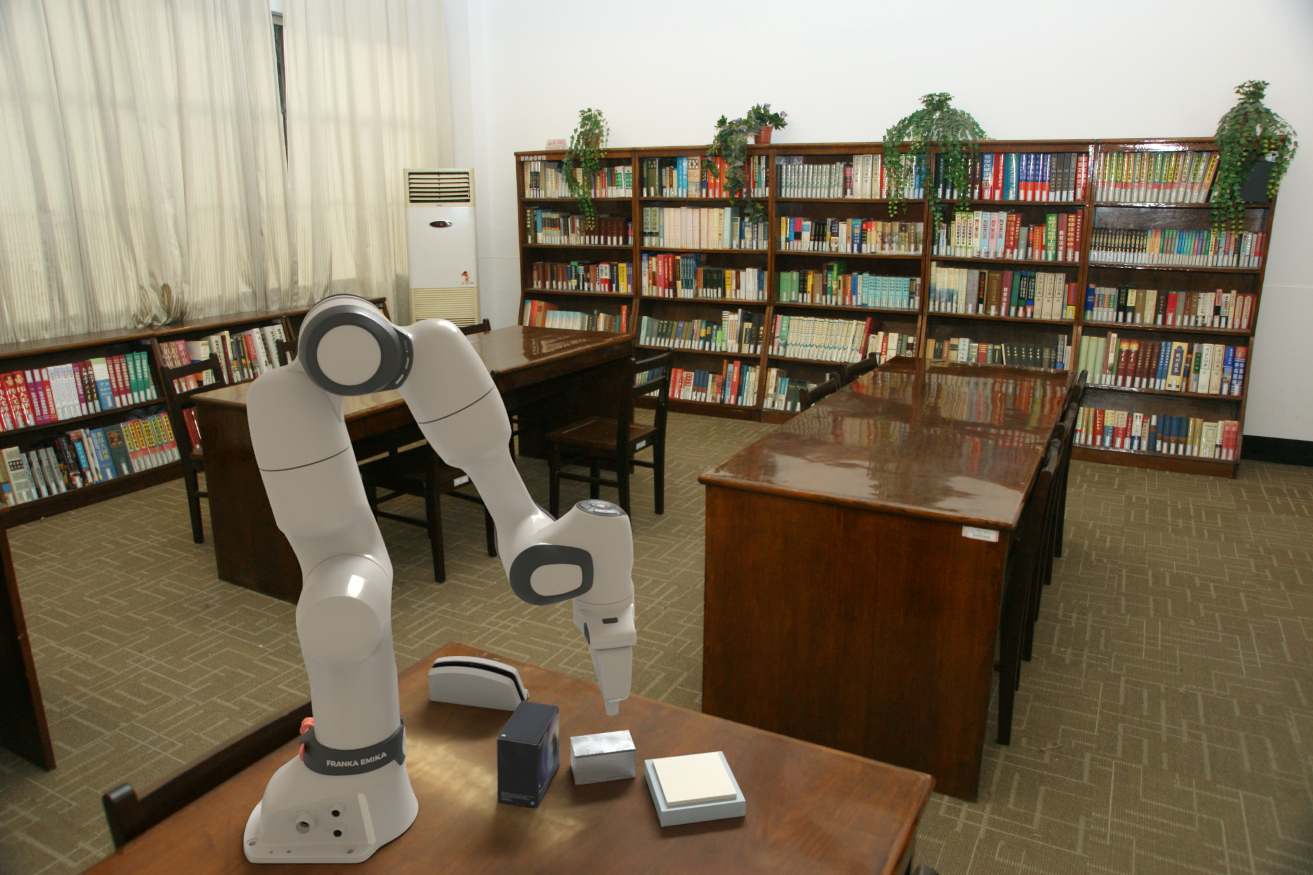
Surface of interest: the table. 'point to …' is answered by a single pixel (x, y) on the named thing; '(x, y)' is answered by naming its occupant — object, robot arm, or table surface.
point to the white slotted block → (476, 683)
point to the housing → (602, 757)
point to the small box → (527, 754)
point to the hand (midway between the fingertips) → (606, 695)
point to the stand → (693, 788)
